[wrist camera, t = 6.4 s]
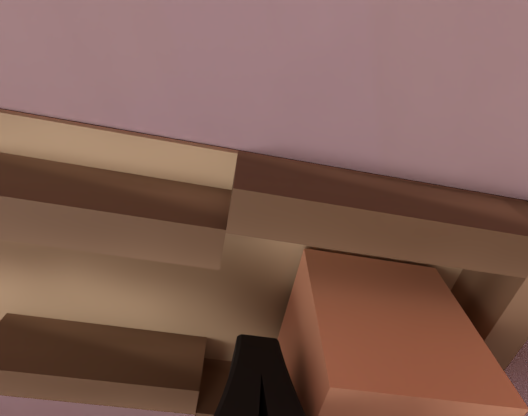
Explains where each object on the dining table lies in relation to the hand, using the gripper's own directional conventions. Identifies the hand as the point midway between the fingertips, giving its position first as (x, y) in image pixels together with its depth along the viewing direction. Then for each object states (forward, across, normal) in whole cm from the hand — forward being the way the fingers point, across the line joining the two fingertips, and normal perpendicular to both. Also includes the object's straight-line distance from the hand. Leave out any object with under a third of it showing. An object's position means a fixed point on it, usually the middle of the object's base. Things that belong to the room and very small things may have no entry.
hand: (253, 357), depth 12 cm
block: (+3, -4, 0) cm, 5 cm away
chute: (+3, 0, 0) cm, 3 cm away
